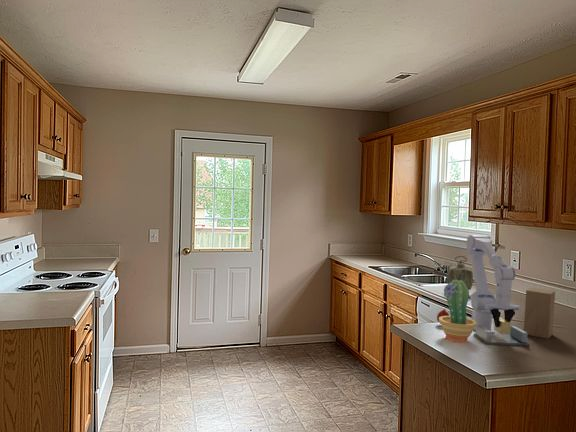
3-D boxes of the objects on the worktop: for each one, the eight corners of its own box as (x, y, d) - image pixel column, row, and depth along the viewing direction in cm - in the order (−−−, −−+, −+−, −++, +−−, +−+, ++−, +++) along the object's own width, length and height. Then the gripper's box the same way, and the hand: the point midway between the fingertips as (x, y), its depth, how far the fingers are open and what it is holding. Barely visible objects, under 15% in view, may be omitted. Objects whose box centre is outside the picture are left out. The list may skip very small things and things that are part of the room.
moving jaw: (509, 335, 197) (510, 326, 197) (514, 335, 197) (515, 326, 197) (522, 342, 187) (522, 332, 187) (527, 342, 187) (527, 332, 187)
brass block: (494, 329, 195) (495, 318, 194) (502, 330, 195) (503, 318, 194) (501, 333, 189) (501, 322, 188) (509, 334, 189) (510, 322, 188)
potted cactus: (434, 332, 201) (437, 276, 200) (470, 334, 199) (473, 278, 198) (441, 343, 186) (445, 282, 185) (481, 346, 184) (484, 284, 183)
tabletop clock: (469, 294, 293) (471, 255, 292) (472, 297, 284) (475, 257, 283) (445, 292, 295) (448, 254, 294) (448, 295, 286) (451, 256, 285)
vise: (473, 335, 198) (474, 324, 198) (514, 337, 198) (514, 326, 198) (486, 344, 186) (486, 332, 186) (529, 346, 186) (530, 334, 186)
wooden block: (528, 330, 212) (530, 287, 211) (552, 334, 205) (555, 291, 205) (523, 334, 204) (525, 290, 203) (548, 339, 198) (551, 293, 197)
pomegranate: (434, 325, 213) (435, 308, 213) (440, 323, 217) (441, 306, 217) (446, 328, 209) (447, 310, 209) (451, 326, 213) (452, 309, 213)
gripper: (490, 296, 187) (488, 328, 188) (525, 297, 188) (523, 330, 188) (483, 292, 194) (481, 324, 195) (516, 294, 195) (514, 325, 195)
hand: (501, 326), depth 192 cm, fingers closed on brass block, 3 cm apart
